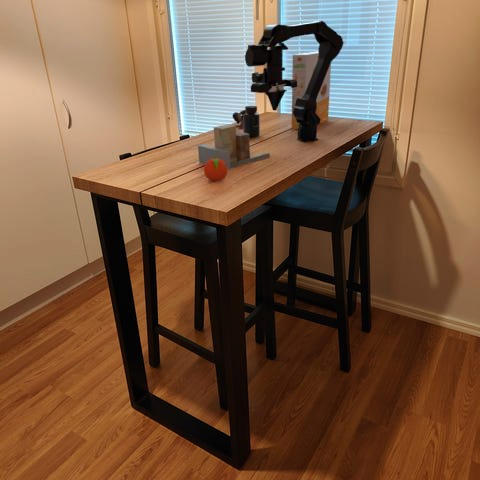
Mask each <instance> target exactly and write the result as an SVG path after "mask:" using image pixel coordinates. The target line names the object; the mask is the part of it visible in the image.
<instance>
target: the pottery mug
mask: <svg viewBox="0 0 480 480" xmlns="http://www.w3.org/2000/svg"><path fill="white" fill-rule="evenodd" d="M245 113H246V111H245V109H243V110H241V111H239V112H233V113H232V118H233V120H234V121H235V122H236V123H237V125H239V128H241V129H243V115H244V114H245Z"/></svg>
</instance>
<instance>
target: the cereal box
mask: <svg viewBox="0 0 480 480" xmlns="http://www.w3.org/2000/svg"><path fill="white" fill-rule="evenodd" d="M318 59H319V52H318V50H317V51H311V52H303V53H298V54H297V53H295V54H292V69H291V70H292V77H291V79H296V81H297V87H295V88H291V89H292V91H291V95H292V96H291V130H295V129H298V128H299V124H300V123H297V121H296V118H295V117H294V114H293V110H294V108H293V107H294V105H295V103H296V99H297V98H302V97H303V96H304V94H305V92H306V89H307V87H308V84H309V82H310V79H311V76H312V74H313V71H314V69H315V66H316V64H317V61H318ZM331 69H332V63H331V64H330V66H329V69H328V71H327V74H326V76H325V79H324V81H323V84H322V86H321V89H320V91H319V94H318V96H317V99H316V103H317V109H316V114H317V115H318V116H319V118H320V119H321V121H320V124H319V125H321V123H322V124H324V122H325V123H326V121H327V122H329V110H330V92H331V91H330V90H331V89H330V88H331Z"/></svg>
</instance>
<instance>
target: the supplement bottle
mask: <svg viewBox="0 0 480 480" xmlns="http://www.w3.org/2000/svg"><path fill="white" fill-rule="evenodd" d="M244 110H245V111H246V113H245V114H244V115H243V128H242V129H243V130H242V131H243V132H242V133H247V134H249V139H251V138H252V139H253V138H258V137H259V136H260V133H261V130H260V129H261V127H260V125H261V124H260V121H261V120H260V119H261V118H260V114H259V113H258V112H257V111H258V106H257V105H245V108H244Z"/></svg>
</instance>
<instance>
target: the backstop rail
mask: <svg viewBox="0 0 480 480" xmlns="http://www.w3.org/2000/svg"><path fill="white" fill-rule="evenodd" d="M197 151H198V161H199V162H198V163H199V164H202V165H205V164H206V163H207V161H209V160H210V159H212V158H219V159H221V160H223V161H224V162H225V164H226V166H227V171H230V170H231V169H232V168H235V167H239V166H242V165H246V164H248V163H252V162H256V161H260V160H262V159H266V158H269V157H271V152H265V153H262V154H258V155H255V156H250V158H247V159H244V160H240V161H237V162H233V163H230V151H227V150H223V149H219V148H216V147H215V146H211V145H207V144H203V143H202V144H198V145H197Z"/></svg>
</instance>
